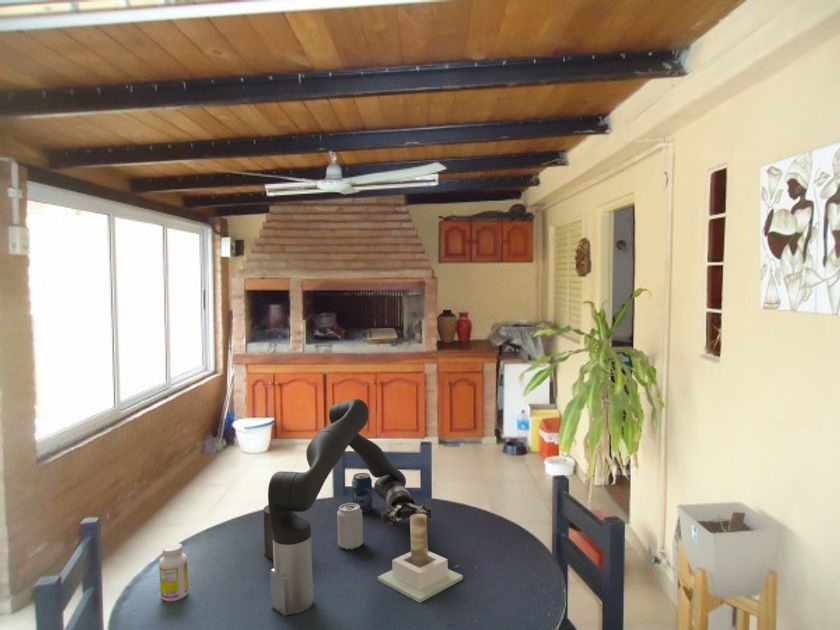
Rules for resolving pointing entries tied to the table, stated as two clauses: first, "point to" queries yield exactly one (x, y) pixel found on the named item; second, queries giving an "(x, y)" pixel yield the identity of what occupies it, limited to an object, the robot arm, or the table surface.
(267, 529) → the pillar candle
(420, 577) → the socket
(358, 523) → the can
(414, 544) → the peg
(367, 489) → the soda can
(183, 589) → the supplement bottle
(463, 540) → the table surface
